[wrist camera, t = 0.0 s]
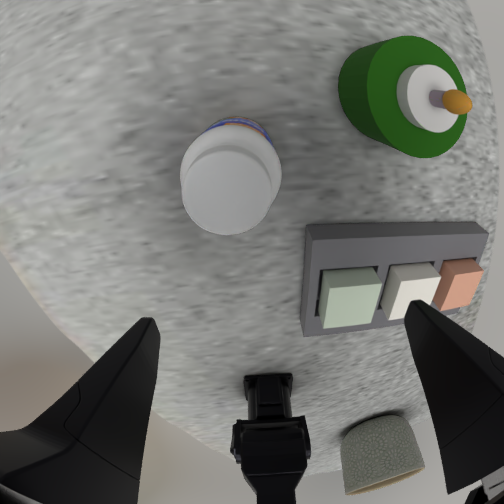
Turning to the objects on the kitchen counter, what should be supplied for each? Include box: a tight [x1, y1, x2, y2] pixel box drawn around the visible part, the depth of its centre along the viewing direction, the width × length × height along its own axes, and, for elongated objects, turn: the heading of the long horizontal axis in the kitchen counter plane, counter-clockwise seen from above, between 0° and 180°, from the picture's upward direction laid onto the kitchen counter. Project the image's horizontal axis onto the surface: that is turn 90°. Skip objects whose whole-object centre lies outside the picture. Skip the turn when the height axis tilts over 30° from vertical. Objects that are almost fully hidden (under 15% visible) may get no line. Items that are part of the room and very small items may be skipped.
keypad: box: [300, 222, 489, 337], centre depth 25 cm, size 11×20×3 cm, turn 93°
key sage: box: [318, 267, 382, 329], centre depth 23 cm, size 5×5×2 cm
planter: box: [340, 415, 425, 495], centre depth 42 cm, size 17×17×15 cm
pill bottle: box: [180, 117, 282, 235], centre depth 16 cm, size 5×5×10 cm
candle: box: [338, 36, 472, 158], centre depth 13 cm, size 8×8×10 cm
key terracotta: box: [433, 258, 484, 311], centre depth 23 cm, size 5×5×2 cm
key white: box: [380, 262, 441, 320], centre depth 23 cm, size 5×5×2 cm
